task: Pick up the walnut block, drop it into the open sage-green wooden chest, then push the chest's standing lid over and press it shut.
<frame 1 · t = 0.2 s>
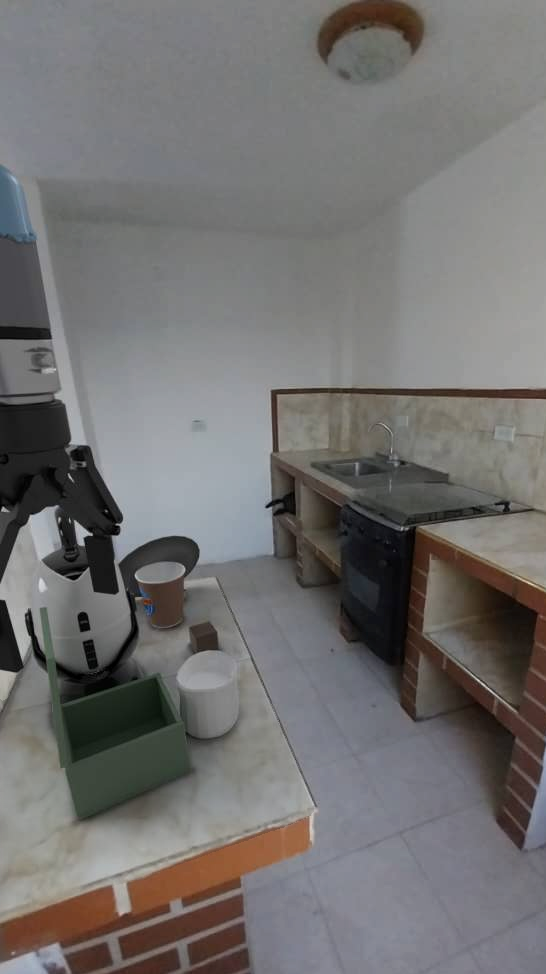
hand: (63, 625, 45), 31 cm above the counter, tool pointing down, fingers open, 13 cm apart
coffee cup: (166, 620, 102), on the counter, touching plate
cup: (210, 718, 75), on the counter
chest: (127, 761, 67), on the counter
wristwatch: (169, 595, 111), point 1 cm above the counter
lid: (53, 684, 57), point 17 cm above the counter, hinge at 85.0°
plate: (161, 573, 105), point 8 cm above the counter, touching coffee cup
block: (204, 647, 93), on the counter
kettle: (100, 692, 81), on the counter
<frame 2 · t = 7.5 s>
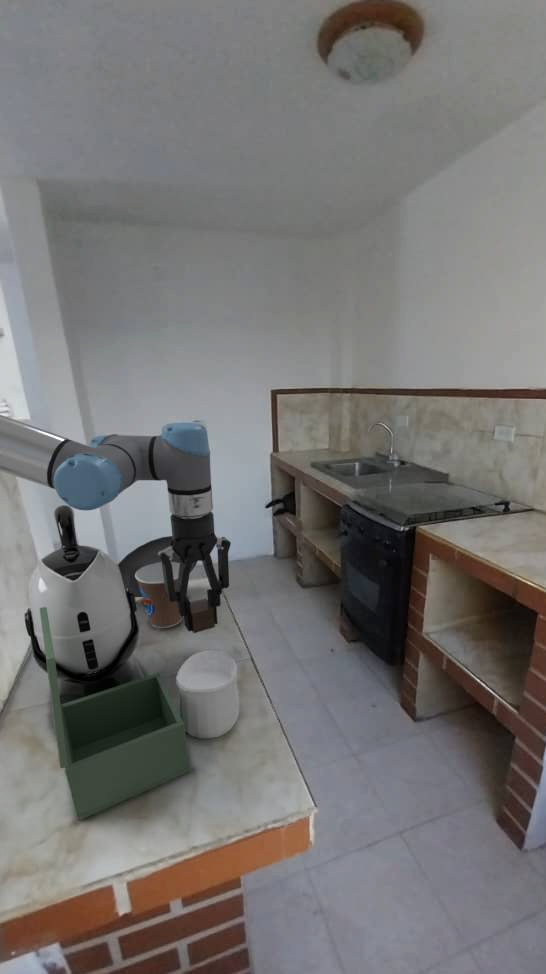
hand: (201, 624, 91), 6 cm above the counter, tool pointing down, fingers closed on block, 4 cm apart
block: (200, 625, 91), point 5 cm above the counter, touching gripper
everything else where it was.
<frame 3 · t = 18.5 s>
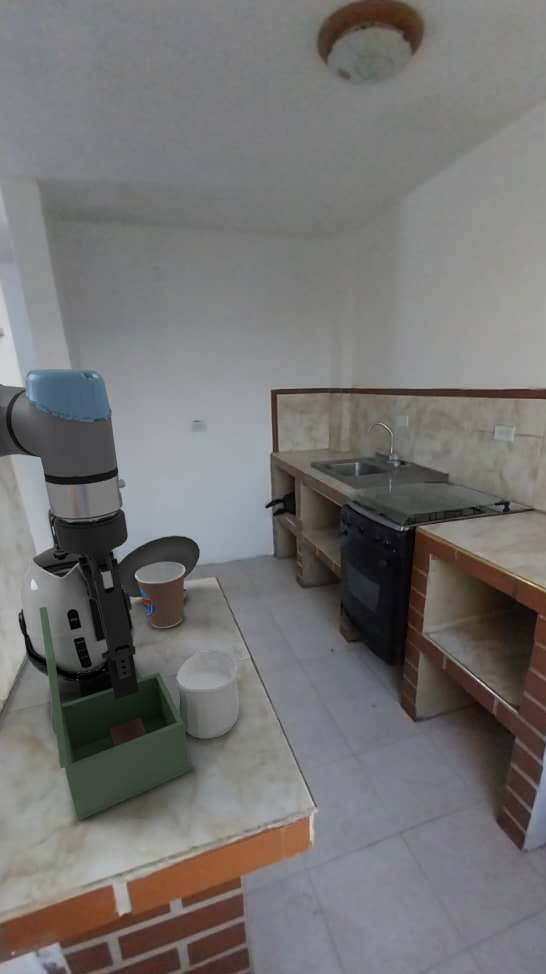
hand: (115, 663, 61), 17 cm above the counter, tool pointing down, fingers open, 13 cm apart
block: (132, 755, 67), point 1 cm above the counter, touching chest
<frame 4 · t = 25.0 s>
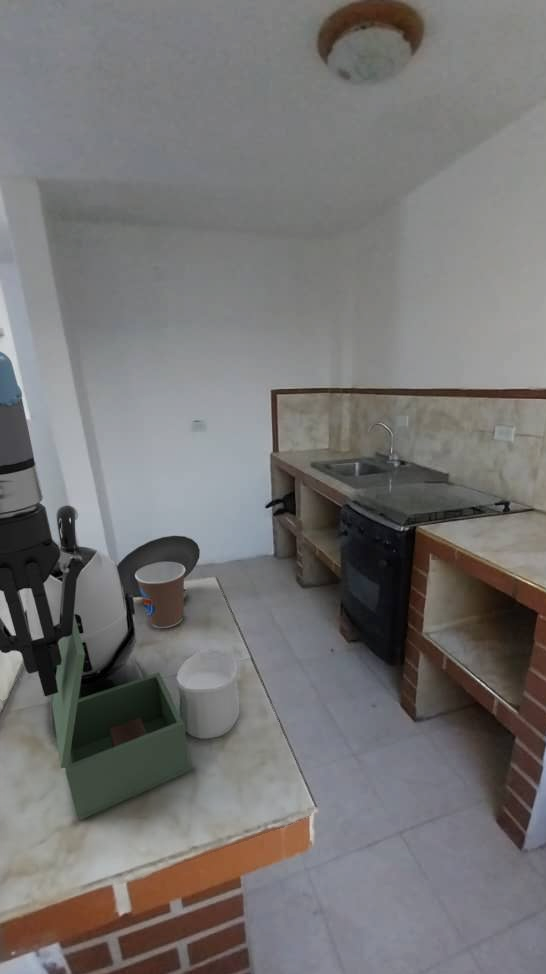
hand: (50, 688, 57), 17 cm above the counter, tool pointing down, fingers closed
lid: (66, 681, 58), point 17 cm above the counter, hinge at 73.7°, touching gripper
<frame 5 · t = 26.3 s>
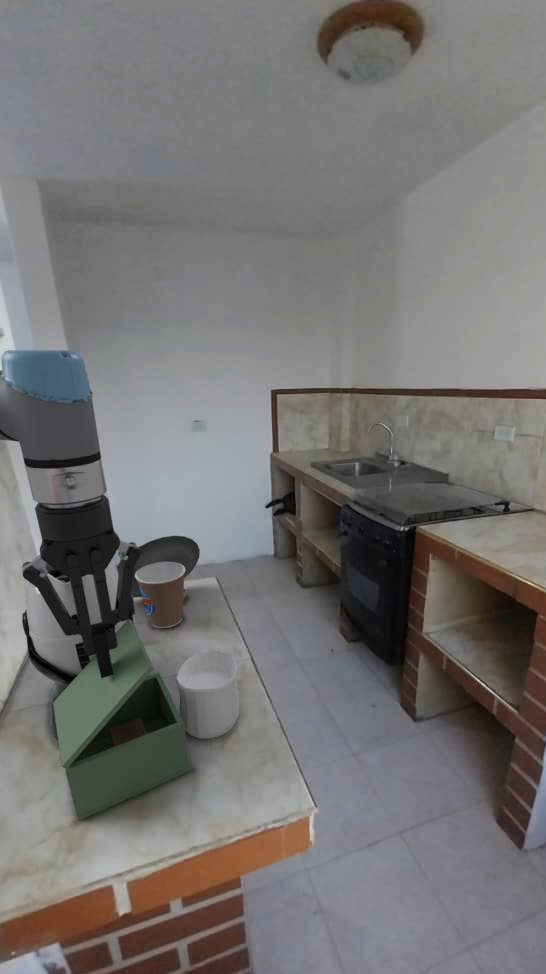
hand: (105, 670, 60), 17 cm above the counter, tool pointing down, fingers closed
lid: (100, 686, 61), point 14 cm above the counter, hinge at 41.0°, touching gripper
everything else where it was.
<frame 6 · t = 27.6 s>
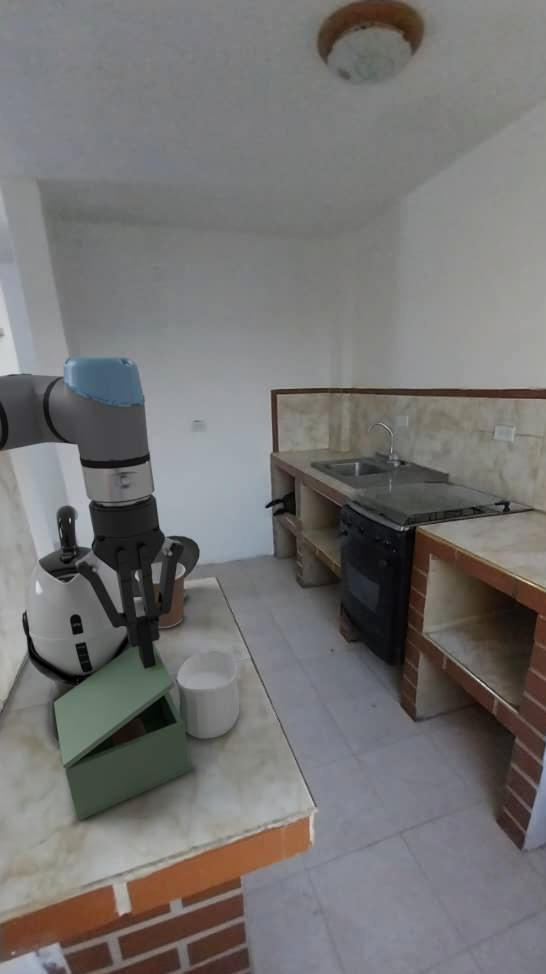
hand: (147, 661, 63), 16 cm above the counter, tool pointing down, fingers closed
lid: (112, 694, 62), point 12 cm above the counter, hinge at 24.8°
everything else where it was.
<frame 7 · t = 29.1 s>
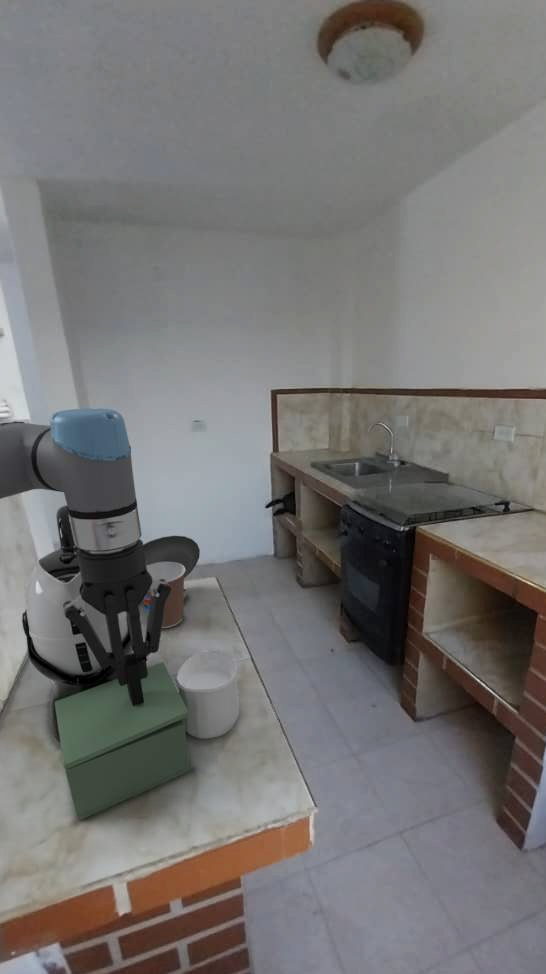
hand: (136, 698, 64), 11 cm above the counter, tool pointing down, fingers closed
lid: (120, 708, 63), point 10 cm above the counter, hinge at 3.3°, touching gripper
everything else where it was.
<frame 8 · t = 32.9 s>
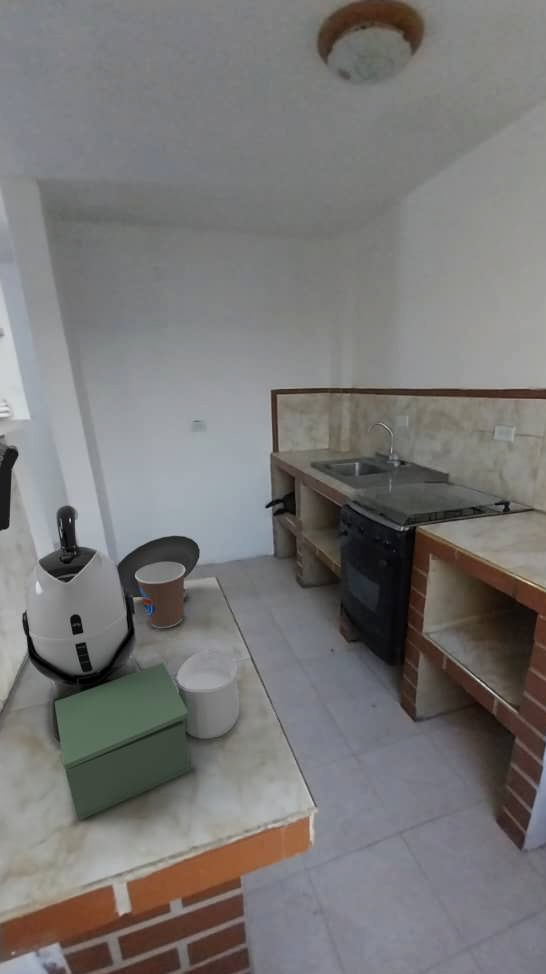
lid: (120, 709, 63), point 10 cm above the counter, hinge at 2.8°
everything else where it was.
at the end: block inside the target area in the chest (0.8 cm from its centre), point 0.8 cm above the chest's base; lid at +3° (first picture: +85°) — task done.
